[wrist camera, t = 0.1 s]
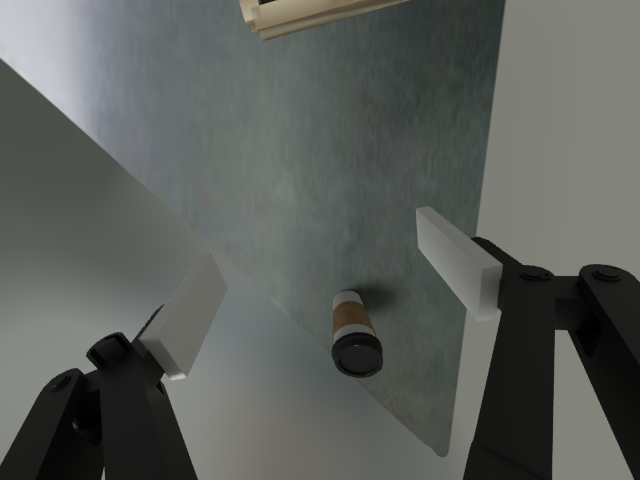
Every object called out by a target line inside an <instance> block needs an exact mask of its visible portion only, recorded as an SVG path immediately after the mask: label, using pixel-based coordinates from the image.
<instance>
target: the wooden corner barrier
mask: <svg viewBox="0 0 640 480" xmlns="http://www.w3.org/2000/svg"><path fill="white" fill-rule="evenodd" d="M406 1H409V0H277V1H273V2H270V3H266V4H263V5H262V2H261V0H239V2H240V5H241V9H242V12H243V16H244V19H245V22H246V24H247V25H248V26H249V28H250V29H251V31H252V32H253V33H259V35H260V36H261V38H262V39H263V41H265V40H269V39H272V38H276V37H279V36H283V35H287V34H290V33H294V32H297V31H301V30H305V29H308V28H312V27H315V26H319V25H323V24H326V23H330V22H334V21H337V20H341V19H344V18H348V17H352V16H355V15H359V14H362V13H366V12H370V11H373V10H377V9H380V8H384V7H388V6H391V5H395V4H398V3H402V2H406Z"/></svg>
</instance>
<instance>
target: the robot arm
mask: <svg viewBox="0 0 640 480" xmlns="http://www.w3.org/2000/svg"><path fill="white" fill-rule="evenodd" d="M416 217H417V235H418V248H419V249H420V250H421V252H422V253H423V254H424V255H425V257H426V258H427V259H428V260H429V262H430V263H431V264H432V265H433V266H434V268H435V269H436V270H437V271H438V273H439V274H440V275H441V276H442V278H443V279H444V280H445V281H446V283H447V284H448V285H449V286H450V288H451V289H452V290H453V291H454V293H455V294H456V295H457V296H458V298H459V299H460V300H461V301H462V303H463V304H464V305H465V306H466V308H467V309H468V310H469V311H470V313H471V314H472V315H473V316H474V318H475V319H476V320H477V321H478V322H481V321H486V320H491V319H496V318H497V310H498V308H499V309H500V310H501V311H502V314H501V318H500V323H499V327H498V332H497V336H496V341H495V345H494V350H493V354H492V359H491V363H490V368H489V373H488V377H487V381H486V386H485V390H484V395H483V400H482V404H481V408H480V413H479V418H478V423H477V427H476V431H475V435H474V439H473V442H472V443H471V447H470V450H469V455H468V459H467V463H466V468H465V472H464V476H463V480H552V449H553V448H552V446H553V398H554V348H555V346H554V345H555V330H568V333H569V335H570V337H571V339H572V341H573V344H574V346H575V348H576V350H577V353H578V355H579V357H580V359H581V362H582V364H583V366H584V368H585V370H586V373H587V375H588V377H589V380H590V382H591V384H592V386H593V388H594V391H595V393H596V395H597V397H598V400H599V402H600V404H601V406H602V409H603V411H604V413H605V415H606V417H607V420H608V422H609V424H610V427H611V429H612V431H613V433H614V435H615V438H616V440H617V442H618V444H619V447H620V449H621V451H622V453H623V456H624V458H625V460H626V462H627V465H628V467H629V469H630V471H631V473H632V476H633V478H634V480H640V282H639V281H638V280H637V279H636V278H635V277H634V276H633V275H632V274H630V273H629V272H627V271H625V270H623V269H620V268H617V267H614V266H609V265H601V264H593V265H587V266H583V267H582V268H581V269H580V272H579V276H554V275H553V274H552V273H551V272H550V271H548V270H546V269H544V268H541V267H536V266H530V265H522V264H521V263H519V262H518V261H517V260H515V259H514V258H513V257H511V256H510V255H508V254H507V253H506V252H504V251H502V250H501V249H500V248H499V247H496V245H494V244H493V243H492V242H490V241H489V240H486V239H483V238H481V237H474V238H469V237H467V236H466V235H465V234H464V233H462V232H461V231H460V230H459V229H457V228H456V227H455V226H453V225H452V224H451V223H450V222H448V221H447V220H446V219H445V218H443V217H442V216H441V215H440V214H438V213H437V212H436V211H435V210H433V209H432V208H431V207H429V206H426V207H421V208H417V209H416ZM226 291H227V285H226V283H225V281H224V279H223V277H222V275H221V273H220V271H219V269H218V267H217V265H216V263H215V261H214V259H213V257H212V255H211V254H210V255H206V256H201V257H199V259H198V260H197V262H196V263H195V264H194V265H193V267H192V268H191V269H190V271H189V272H188V274H187V275H186V276H185V278H184V279H183V281H182V282H181V283H180V284H179V286H178V287H177V288H176V290H175V291H174V292H173V294H172V295H171V296H170V298H169V299H168V300H167V302H166V303H165V304H163V305H162V306H161V307H160V308H159V309H157V310H156V311H155V312H154V314H153V315H152V316H151V318H150V320H148V322H147V323H146V324H145V326H144V327H143V328H142V329H141V331H140V332H139V333H138V335H137V336H136V337H135V339H134V340H133V341H132V342H131V343H130V342H129V341H128V339H127V338H126V337H125V336H124V334H123V333H121V332H117V333H113V334H110V335H108V336H106V337H104V338H103V339H101V340H100V341H98V342H97V343H96V344H94V345H93V346H92V347H91V348H90V349H89V351H88V352H87V355H86V357H87V358H88V359H89V360H90V361H91V362H92V363H93V364H94V365H95V366H96V367H97V368H98V369H97V370H94V371H92V372H90V373H87V374H85V375H84V374H83V373H82V372H81V371H80V370H79V369H78V368H73V369H70V370H67V371H65V372H63V373H61V374H59V375H58V376H56V377H55V378H53V379H52V380H51V381H50V382H49V383H48V384H47V385H46V386H45V387H44V388H43V390H42V391H41V392H40V394H39V396H38V397H37V399H36V401H35V403H34V405H33V406H32V408H31V410H30V412H29V414H28V416H27V418H26V420H25V421H24V423H23V425H22V427H21V429H20V431H19V432H18V434H17V436H16V438H15V440H14V442H13V443H12V445H11V447H10V449H9V451H8V453H7V455H6V456H5V458H4V460H3V462H2V463H1V465H0V480H101V478H102V474H103V469H104V468H105V480H198V479H197V476H196V473H195V470H194V467H193V465H192V462H191V459H190V456H189V453H188V451H187V448H186V445H185V442H184V439H183V437H182V434H181V431H180V428H179V426H178V422H177V420H176V417H175V414H174V411H173V408H172V406H171V403H170V400H169V397H168V394H167V392H166V389H165V386H164V384H163V383H162V382H161V380H160V379H161V378H162V376H163V374H164V372H165V373H166V375H167V376H168V377H169V379H170V380H176V379H182V378H186V377H187V375H188V374H189V371H190V369H191V367H192V365H193V363H194V360H195V358H196V356H197V354H198V352H199V350H200V347H201V345H202V343H203V341H204V339H205V336H206V334H207V332H208V330H209V328H210V326H211V323H212V321H213V319H214V317H215V315H216V312H217V310H218V308H219V306H220V304H221V302H222V299H223V297H224V295H225V293H226Z"/></svg>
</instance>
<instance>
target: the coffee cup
mask: <svg viewBox="0 0 640 480" xmlns="http://www.w3.org/2000/svg"><path fill="white" fill-rule="evenodd" d="M332 358H333V360H334V362H335V365H336V367H337V369H338V370H339V371H340V372H342V373H343V374H345V375H348V376H352V377H357V378H366V377H370V376H372V375H374V374H376V373H377V372H379V371H380V370H381V369H382V365H383V356H382V347H381V343H380V341H379V340H378V339H377V338H376V334H375V331H374V329H373V326H372V324H371V322H370V319H369V317H368V315H367V312H366V310H365V308H364V306H363V303H362V301H361V298H360V296H359V295H358V294H357V293H356V292H354V291H349V290H347V291H342V292H340V293H338V294H337V295H336V296H335V297H334V299H333V347H332Z"/></svg>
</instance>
